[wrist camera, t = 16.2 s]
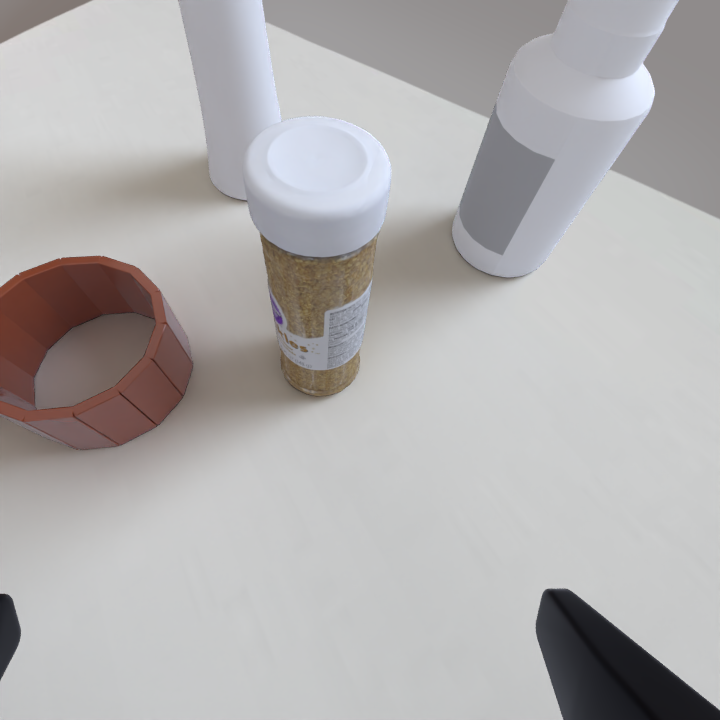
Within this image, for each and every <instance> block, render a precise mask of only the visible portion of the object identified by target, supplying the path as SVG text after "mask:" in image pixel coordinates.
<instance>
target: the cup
mask: <svg viewBox="0 0 720 720" xmlns="http://www.w3.org/2000/svg"><path fill="white" fill-rule="evenodd" d="M130 312H135V313H138V314H141V315H144V316H147V317H150V318H153V319H155V322H156V325H155V328H154V330H153V333H152V336H151V338H150V341H149V344H148V347H147V349H146V352H145V355H144V357H143V358H142V359H141V360H140V361H139V362H138V363H137V364H136V365H135V366H134V367H133V368H132V369H131V370H130V371H129V372H128V373H127V374H126V375H125V376H124V377H123V378H122V379H121V380H120V381H119V382H118V383H117V384H116V386H115V387H113V388H110V389H108V390H106V391H104V392H102V393H100V394H98V395H96V396H94V397H92V398H90V399H87V400H85V401H83V402H81V403H79V404H77V405H75V406H73V407H62V408H51V409H40V410H37V408H36V407H35V395H34V377H35V374H36V372H37V370H38V368H39V366H40V364H41V362H42V360H43V358H44V356H45V354H46V352H47V350H48V349H49V348H50V347H51V346H52V345H53V344H55V343H56V342H57V341H58V340H59V339H60V338H61V337H62V336H63V335H65V334H66V333H67V332H68V331H69V330H70V329H71V328H72V327H75V326H77V325H79V324H82V323H84V322H86V321H89V320H91V319H93V318H96V317H98V316H101V315H103V314H115V313H130ZM192 364H193V360H192V356H191V351H190V347H189V342H188V338H187V335H186V334H185V332H184V330H183V328H182V327H181V325H180V323H179V322H178V320H177V318H176V317H175V315H174V313H173V312H172V310H171V308H170V306H169V305H168V303H167V301H166V300H165V298H164V296H163V295H162V293H161V291H160V290H159V288H158V287H157V286H156V285H155V284H154V283H153V282H152V281H151V280H150V279H149V278H148V277H147V276H146V275H145V274H144V273H143V272H142V271H141V270H140V269H139V268H137V267H135V266H132V265H129V264H126V263H123V262H120V261H117V260H114V259H111V258H108V257H104V256H102V257H101V256H86V257H67V258H61V259H56V260H53V261H50V262H48V263H45V264H42V265H40V266H37V267H34V268H32V269H29V270H26V271H24V272H21V273H19V275H16V276H14V277H13V278H12V279H10V280H9V281H8V282H7V283H5V284H4V285H3V286H1V287H0V416H1V417H3V418H5V419H7V420H9V421H11V422H14V423H16V424H18V425H20V426H22V427H24V428H26V429H28V430H30V431H32V432H34V433H36V434H38V435H40V436H43V437H45V438H47V439H50V440H52V441H55V442H58V443H61V444H63V445H66V446H69V447H72V448H74V449H77V450H78V449H79V450H84V449H94V448H103V447H113V446H119V444H120V445H122V444H124V443H126V442H128V441H130V440H132V439H134V438H136V437H138V436H140V435H142V434H144V433H146V432H147V431H149V430H151V429H153V428H155V427H157V425H159V424H160V423H161V422H162V421H163V420H164V418H165V417H166V416H167V415H168V414H169V413H170V412H171V410H172V409H173V408H174V407H175V406H176V405H177V404H178V402H179V401H180V400H181V399H182V398H183V397H182V396H184V393H185V390H186V387H187V384H188V380H189V377H190V374H191V371H192V367H193V365H192Z"/></svg>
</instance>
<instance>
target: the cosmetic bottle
mask: <svg viewBox="0 0 720 720" xmlns="http://www.w3.org/2000/svg"><path fill="white" fill-rule="evenodd" d="M178 2H179V6H180V11H181V15H182V20H183V24H184V29H185V33H186V38H187V42H188V47H189V52H190V56H191V61H192V65H193V70H194V75H195V80H196V85H197V90H198V95H199V100H200V106H201V111H202V117H203V123H204V129H205V136H206V144H207V152H208V163H209V175H210V179H211V181H212V183H213V184H214V185H215V187H216V188H217V189H218V190H220V191H221V192H222V193H224V194H226V195H228V196H230V197H233V198H236V199H241V200H247V197H246V191H245V186H244V180H243V172H242V164H243V159H244V155H245V152H246V150H247V148H248V146H249V144H250V143H251V142H252V140H253V139H254V138H255V137H256V136H257V135H258V134H259V133H261V132H262V131H263V130H265V129H266V128H268V127H270V126H272V125H273V124H276V123H278V122H281V121H282V119H281V114H280V109H279V104H278V99H277V93H276V88H275V82H274V76H273V70H272V64H271V57H270V51H269V44H268V38H267V31H266V25H265V19H264V11H263V5H262V0H178Z"/></svg>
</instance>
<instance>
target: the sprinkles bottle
mask: <svg viewBox="0 0 720 720" xmlns="http://www.w3.org/2000/svg"><path fill="white" fill-rule="evenodd" d="M242 172H243V180H244V186H245V191H246V197H247V202H248V207H249V211H250V215H251V218H252V221H253V223H254V224H255V226H256V228H257V229H258V230H259V232H260V237H261V242H262V246H263V253H264V258H265V264H266V268H267V274H268V288H269V293H270V298H271V304H272V309H273V314H274V321H275V327H276V333H277V339H278V342H279V345H280V350H281V368H282V371H283V373H284V376H285V378H286V379H287V380H288V381H289V383H290V384H291V385H292V386H293V387H295V388H297V389H298V390H300V391H302V392H304V393H305V394H308V395H314V396H326V395H331V394H334V393H338V392H341V391H342V390H343V389H344V388H346V387H347V386H348V385H350V383H351V382H352V381H353V380H354V379H355V377H356V375H357V373H358V370H359V363H360V356H359V350H360V346H361V343H362V340H363V335H364V329H365V322H366V316H367V310H368V303H369V297H370V291H371V285H372V278H373V262H374V255H375V249H376V242H377V236H378V234H379V231H380V228H381V226H382V224H383V223H384V220H385V216H386V210H387V205H388V198H389V191H390V183H391V164H390V161H389V158H388V155H387V153H386V151H385V149H384V148H383V147H382V145H381V144H380V143H379V142H378V140H377V139H375V138H374V137H373V136H372V135H371V134H369V133H368V132H367V131H365V130H364V129H362V128H360V127H358V126H356V125H354V124H352V123H349V122H346V121H343V120H340V119H335V118H330V117H323V116H304V117H297V118H291V119H288V120H284V121H281V122H278V123H276V124H273V125H272V126H270V127H268V128H266V129H265V130H263V131H262V132H261V133H259V134H258V135H257V136H256V137H255V138H254V139H253V140H252V142H251V143H250V144H249V146H248V148H247V150H246V152H245V155H244V159H243V164H242Z"/></svg>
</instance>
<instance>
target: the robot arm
mask: <svg viewBox="0 0 720 720" xmlns="http://www.w3.org/2000/svg"><path fill="white" fill-rule="evenodd" d="M536 634H537V639H538V642H539V645H540V648H541V651H542V654H543V658H544V661H545V664H546V667H547V670H548V673H549V676H550V679H551V683H552V686H553V689H554V692H555V695H556V698H557V701H558V704H559V708H560V711H561V714H562V717H563V720H720V710H719V709H717V708H716V707H715V706H714V705H712V704H711V703H710V702H709V701H707V700H706V699H705V698H704V697H703V696H701V695H700V694H699V693H698V692H696V691H695V690H694V689H693V688H691V687H690V686H689V685H688V684H686V683H685V682H684V681H683V680H681V679H680V678H679V677H678V676H676V675H675V674H674V673H673V672H671V671H670V670H669V669H668V668H667V667H665V666H664V665H663V664H662V663H660V662H659V661H658V660H657V659H655V658H654V657H653V656H652V655H650V654H649V653H648V652H647V651H645V650H644V649H643V648H642V647H640V646H639V645H638V644H637V643H635V642H634V641H633V640H632V639H630V638H629V637H628V636H627V635H626V634H624V633H623V632H622V631H621V630H619V629H618V628H617V627H616V626H614V625H613V624H612V623H611V622H609V621H608V620H607V619H606V618H604V617H603V616H602V615H601V614H599V613H598V612H597V611H596V610H594V609H593V608H592V607H591V606H590V605H588V604H587V603H586V602H585V601H583V600H582V599H581V598H580V597H578V596H577V595H576V594H575V593H573V592H572V591H570V590H568V589H546V590H545V591H544V592H543V594H542V598H541V602H540V607H539V611H538V616H537V620H536ZM20 637H21V629H20V625H19V621H18V617H17V614H16V610H15V606H14V603H13V600H12V598H11V597H10V596H9V595H7V594H0V680H1V678H2V676H3V674H4V672H5V670H6V668H7V666H8V664H9V662H10V661H11V659H12V657H13V655H14V653H15V651H16V649H17V647H18V644H19V641H20Z"/></svg>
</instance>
